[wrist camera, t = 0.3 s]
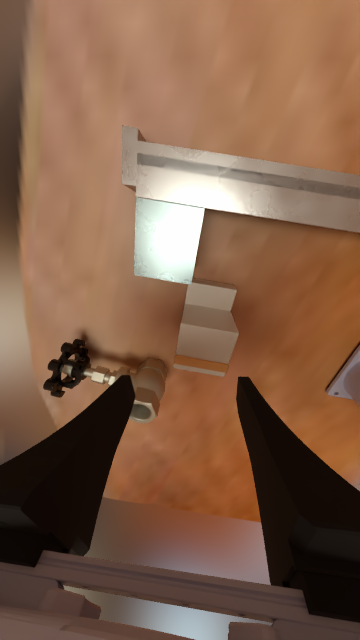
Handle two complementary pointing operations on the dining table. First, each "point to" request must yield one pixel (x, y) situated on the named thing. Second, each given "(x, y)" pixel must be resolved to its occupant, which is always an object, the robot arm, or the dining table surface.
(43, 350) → the dining table surface
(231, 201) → the rail
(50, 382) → the valve
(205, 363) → the block
